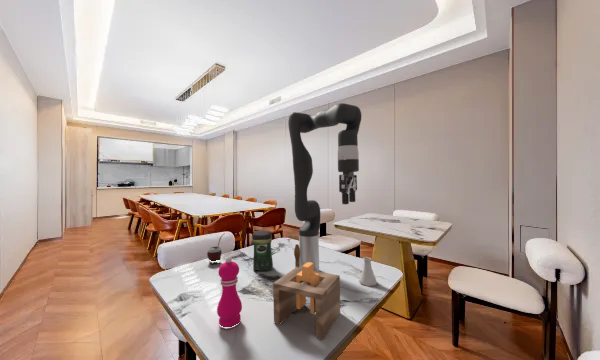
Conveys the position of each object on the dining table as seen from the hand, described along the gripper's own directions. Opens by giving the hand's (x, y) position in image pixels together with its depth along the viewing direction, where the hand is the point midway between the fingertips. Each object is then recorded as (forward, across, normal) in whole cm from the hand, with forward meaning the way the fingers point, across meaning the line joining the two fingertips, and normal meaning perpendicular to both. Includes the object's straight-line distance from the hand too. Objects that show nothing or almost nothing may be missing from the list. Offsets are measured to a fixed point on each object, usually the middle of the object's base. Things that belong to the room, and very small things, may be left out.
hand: (349, 203), depth 84 cm
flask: (+34, -14, +3) cm, 37 cm away
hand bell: (+34, -1, -23) cm, 41 cm away
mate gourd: (+34, -3, -74) cm, 82 cm away
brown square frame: (+34, +19, -8) cm, 40 cm away
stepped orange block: (+31, +19, -8) cm, 37 cm away
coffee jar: (+34, -7, -46) cm, 58 cm away
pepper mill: (+34, +32, -28) cm, 55 cm away
